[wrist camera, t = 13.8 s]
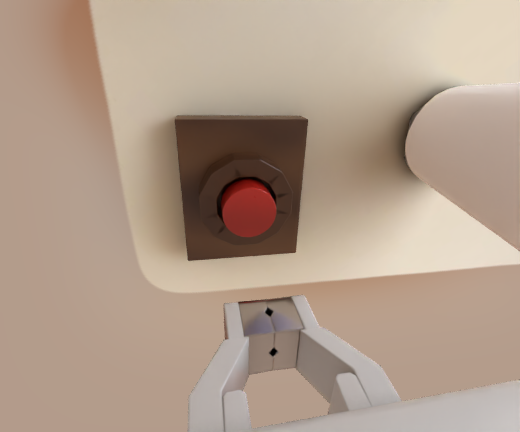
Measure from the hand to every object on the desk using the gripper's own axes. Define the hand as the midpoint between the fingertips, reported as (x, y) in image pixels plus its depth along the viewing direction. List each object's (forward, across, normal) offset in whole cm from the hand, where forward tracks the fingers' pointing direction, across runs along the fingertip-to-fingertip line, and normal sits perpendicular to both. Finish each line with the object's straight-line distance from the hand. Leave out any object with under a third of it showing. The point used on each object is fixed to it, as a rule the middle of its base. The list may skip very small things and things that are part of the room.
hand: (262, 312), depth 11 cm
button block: (+14, -1, +1) cm, 14 cm away
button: (+11, -1, +1) cm, 11 cm away
